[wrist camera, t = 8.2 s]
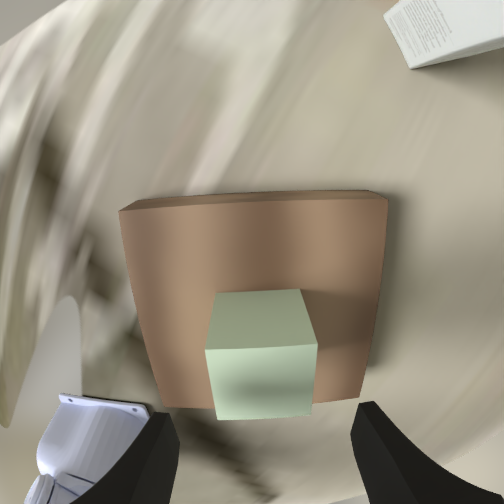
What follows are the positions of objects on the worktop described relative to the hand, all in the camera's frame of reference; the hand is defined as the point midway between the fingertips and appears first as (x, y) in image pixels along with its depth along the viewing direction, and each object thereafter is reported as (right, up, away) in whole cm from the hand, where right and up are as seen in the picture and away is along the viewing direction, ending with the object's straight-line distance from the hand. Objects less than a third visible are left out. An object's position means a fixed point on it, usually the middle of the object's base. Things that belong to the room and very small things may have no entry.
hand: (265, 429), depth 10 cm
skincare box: (+11, +21, +4) cm, 24 cm away
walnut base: (0, +4, +10) cm, 10 cm away
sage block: (0, +2, +7) cm, 7 cm away
